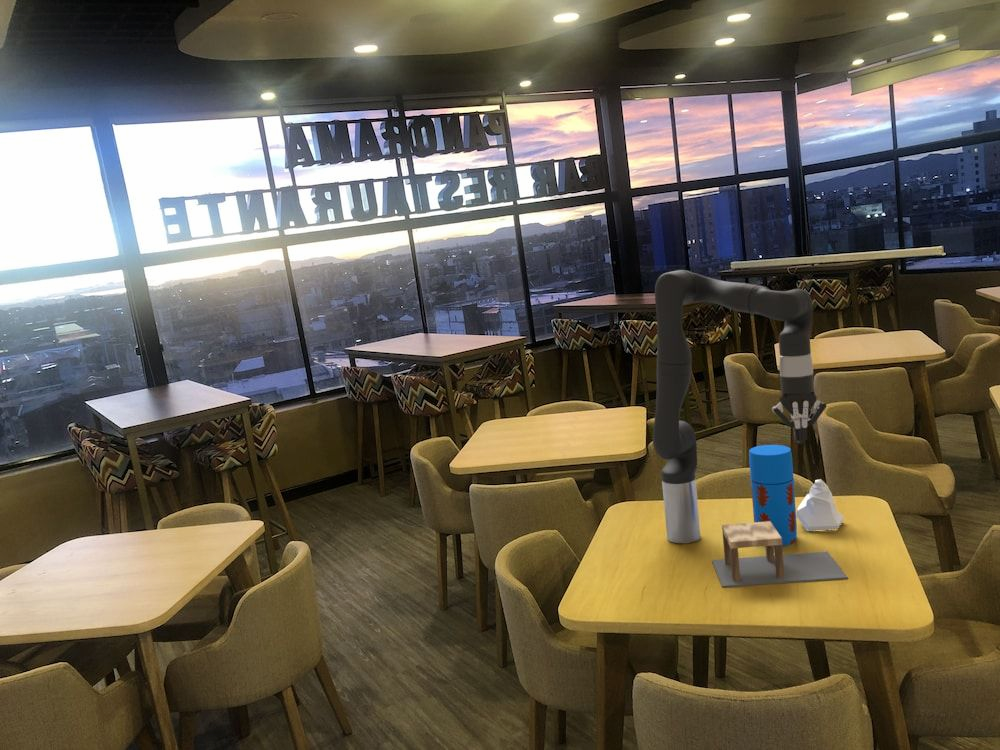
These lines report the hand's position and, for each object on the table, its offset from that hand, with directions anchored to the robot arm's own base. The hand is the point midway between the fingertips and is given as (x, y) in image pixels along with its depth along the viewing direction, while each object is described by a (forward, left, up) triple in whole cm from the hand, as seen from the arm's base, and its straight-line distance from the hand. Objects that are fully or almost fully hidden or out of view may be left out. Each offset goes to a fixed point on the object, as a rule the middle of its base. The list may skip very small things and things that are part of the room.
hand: (800, 442), depth 197 cm
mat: (+3, -8, -31) cm, 32 cm away
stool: (+3, -8, -26) cm, 27 cm away
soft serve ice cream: (-26, +10, -31) cm, 42 cm away
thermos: (-17, -4, -31) cm, 36 cm away
